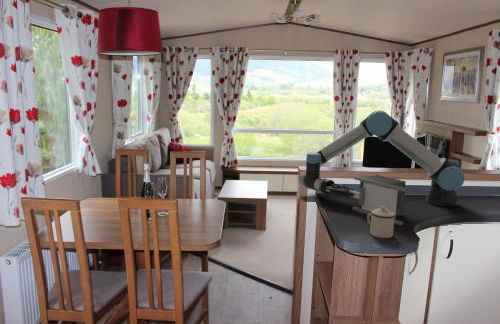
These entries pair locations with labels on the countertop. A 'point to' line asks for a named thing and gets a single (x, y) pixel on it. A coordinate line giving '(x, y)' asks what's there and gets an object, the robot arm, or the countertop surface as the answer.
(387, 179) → the small gray cabinet
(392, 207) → the side door
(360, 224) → the countertop surface
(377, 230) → the teacup with lid
